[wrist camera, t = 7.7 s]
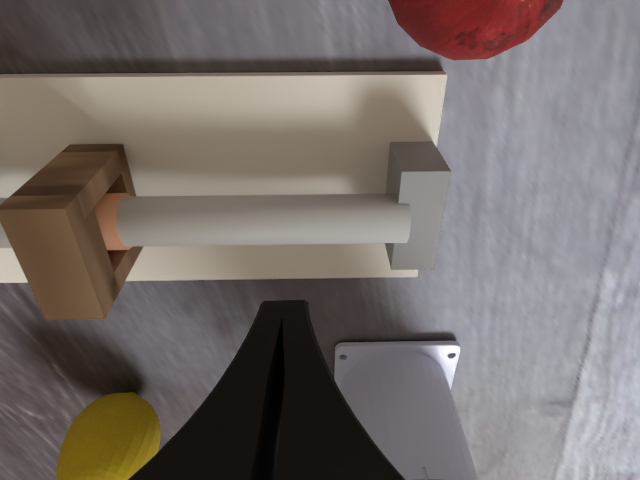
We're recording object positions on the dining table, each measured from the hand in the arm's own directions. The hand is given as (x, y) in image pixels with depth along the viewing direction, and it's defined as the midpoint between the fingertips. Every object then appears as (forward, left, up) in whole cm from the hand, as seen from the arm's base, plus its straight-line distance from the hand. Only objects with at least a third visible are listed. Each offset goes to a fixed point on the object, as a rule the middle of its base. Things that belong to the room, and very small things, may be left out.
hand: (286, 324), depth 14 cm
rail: (0, +5, -10) cm, 12 cm away
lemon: (-16, +12, -11) cm, 23 cm away
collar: (0, +9, -10) cm, 14 cm away
